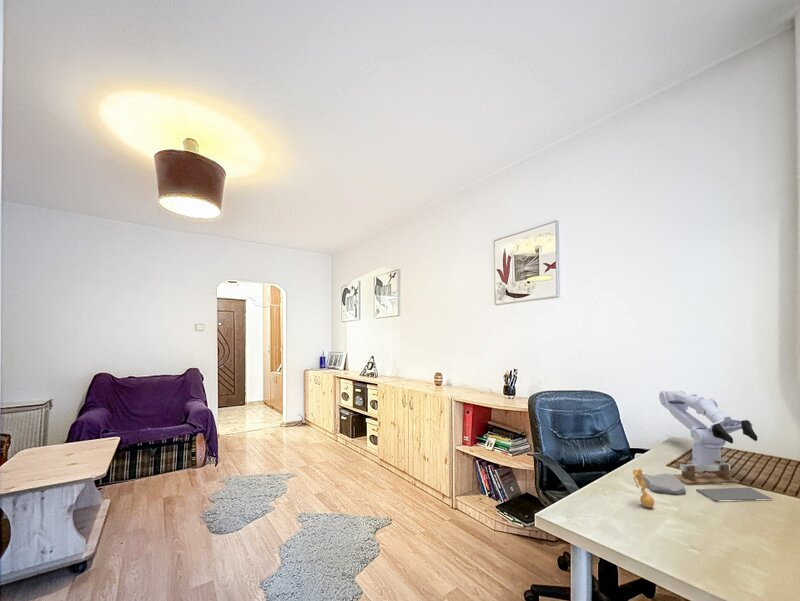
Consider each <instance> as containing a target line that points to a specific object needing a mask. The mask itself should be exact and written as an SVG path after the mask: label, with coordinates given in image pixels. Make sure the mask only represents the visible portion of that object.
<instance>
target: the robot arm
mask: <svg viewBox="0 0 800 601" xmlns="http://www.w3.org/2000/svg"><path fill="white" fill-rule="evenodd" d="M658 395H659V396H658V398H659V401H660V405H661V406H663V407H664V408H666V409H667V410H668V411H669V412H670V414H671V416H673V417H674V418H675V419H676V420H677V421H678V422H680V423H681V424H682V425H684V426H685V427H686V428H687V429H689V430H690V437H691V438H692V439H693V441H694V443H693V444H692V448H691V450H692V452H691V455H692V460H691V461H690V464H700V463H715V462H714V461H721V462H722V454H721V452H722V451H721V450H722V449H723V448H724V447H723V446H725V445H726V443H730V444H734V438H733V437H732V436H731V435H730V434H731V433H733V432H737V431H739V430H741V431H742V435H745V436H747V437H748V438H750V439H751V440H752V441H753V442H754V441H755V442H758V435H757V434H756V433H755V431H754V429H753V423H752V422H751V421H750V420H748V419H745V420H741V419H736V418H732V417H731V416H730V415H728V414H726V413H725V412H724V411H723V410H721V409H720V408H719V406H718V403H717V402H716V400H714V399H712V398H710V399H705V398H704V397H703V396H698V395H697V394H696V393H692V394H687V393H686V392H685V391H682V390H679V391H677V390H676V391H674V390H673V391H670V390H669V391H667V390H661V391H660V392H659V394H658ZM690 408H691V409H693V410H695V412H696V413H697V414H698V415H702V416H705V418H707V419H708V420H709V421H710V422H711V424H708V425H706V424H704V422H701V421H700V420H699V419H698V418H697V417H695V416H694V415H692V414H691V413H689V412H688V411H687V410H689V409H690Z"/></svg>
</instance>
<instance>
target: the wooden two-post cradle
mask: <svg viewBox="0 0 800 601" xmlns="http://www.w3.org/2000/svg"><path fill="white" fill-rule="evenodd" d="M714 462H715V463H722V460H721V461H714ZM681 464H689V463H688V461H684V460H683V461H681ZM727 464H728V463H727ZM727 464H722V468H723V470H719V471H714V472H712V473H711V472H710V473H709V472H707V473H696V471H695V466H693V465H689V471H682V470H681V473H679V474H677V473H676V474H675V473H674V474H673V473H672V475H674V476H675V477H677V478H678V479H679V480H680V481H681V482H682V483H683V484H684V486H702V485H703V486H704V485H707V484H712V485H723V484H722V483H739V484H740V480H738V479H736V478H734V477H732V476H730V470H729V465H730V464H729V465H727Z"/></svg>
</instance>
